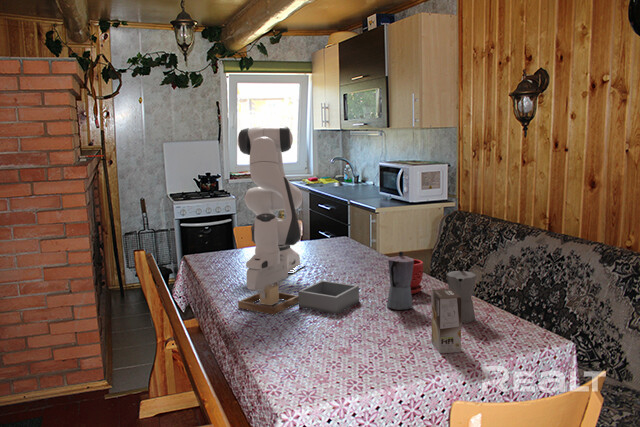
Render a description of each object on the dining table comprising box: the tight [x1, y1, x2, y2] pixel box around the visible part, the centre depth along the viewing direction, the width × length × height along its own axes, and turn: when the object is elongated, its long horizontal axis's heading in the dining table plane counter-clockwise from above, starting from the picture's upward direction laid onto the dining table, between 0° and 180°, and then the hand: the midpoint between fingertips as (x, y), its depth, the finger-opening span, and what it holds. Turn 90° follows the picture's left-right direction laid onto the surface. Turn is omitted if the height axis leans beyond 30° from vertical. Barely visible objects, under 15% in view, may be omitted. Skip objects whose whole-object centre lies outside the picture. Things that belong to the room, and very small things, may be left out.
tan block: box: [258, 284, 280, 307], centre depth 197 cm, size 5×5×6 cm
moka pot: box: [386, 251, 414, 311], centre depth 190 cm, size 10×15×20 cm, turn 155°
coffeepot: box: [446, 265, 477, 324], centre depth 178 cm, size 15×9×18 cm, turn 162°
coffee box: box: [430, 288, 462, 354], centre depth 154 cm, size 9×6×16 cm
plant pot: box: [410, 258, 424, 295], centre depth 209 cm, size 13×13×12 cm
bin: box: [297, 280, 360, 315], centre depth 196 cm, size 16×16×6 cm
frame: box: [237, 291, 299, 316], centre depth 197 cm, size 16×16×2 cm
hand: (269, 295), depth 197 cm, fingers closed on tan block, 5 cm apart
